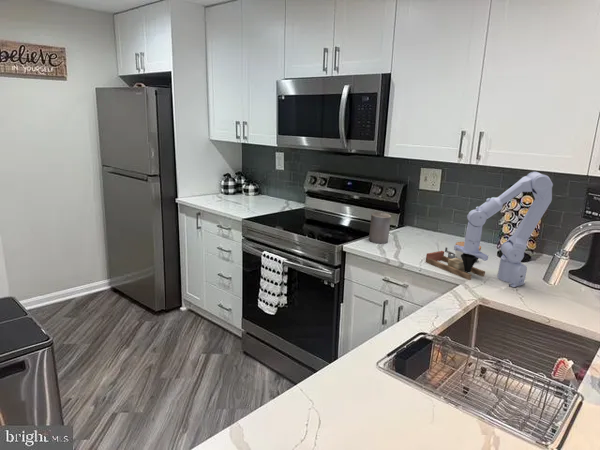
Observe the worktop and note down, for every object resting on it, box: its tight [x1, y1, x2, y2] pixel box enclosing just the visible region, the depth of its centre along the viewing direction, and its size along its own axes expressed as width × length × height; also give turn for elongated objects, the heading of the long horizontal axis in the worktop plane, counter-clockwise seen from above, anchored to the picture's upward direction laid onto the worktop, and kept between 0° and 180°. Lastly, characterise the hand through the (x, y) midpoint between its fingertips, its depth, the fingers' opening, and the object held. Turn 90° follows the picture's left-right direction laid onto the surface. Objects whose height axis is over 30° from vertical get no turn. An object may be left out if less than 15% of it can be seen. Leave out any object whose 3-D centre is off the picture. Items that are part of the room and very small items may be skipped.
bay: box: [425, 250, 486, 281], centre depth 180 cm, size 22×10×5 cm, turn 33°
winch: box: [444, 247, 456, 259], centre depth 191 cm, size 5×3×6 cm, turn 33°
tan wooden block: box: [447, 257, 464, 272], centre depth 179 cm, size 5×5×4 cm
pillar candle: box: [368, 212, 392, 245], centre depth 215 cm, size 10×10×15 cm
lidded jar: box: [454, 241, 482, 260], centre depth 192 cm, size 11×11×9 cm
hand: (467, 271), depth 175 cm, fingers closed
